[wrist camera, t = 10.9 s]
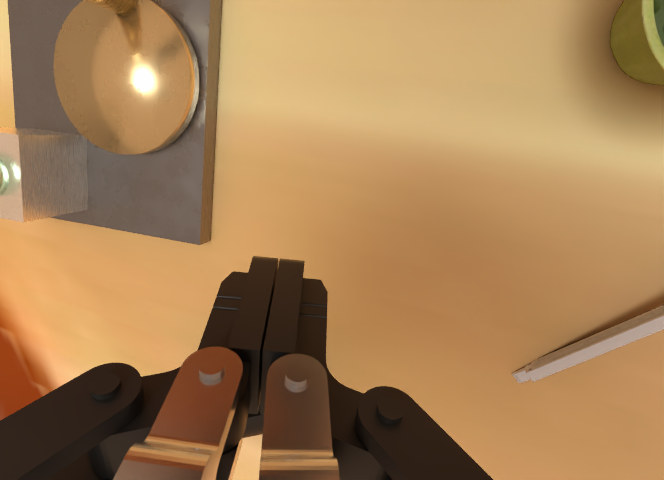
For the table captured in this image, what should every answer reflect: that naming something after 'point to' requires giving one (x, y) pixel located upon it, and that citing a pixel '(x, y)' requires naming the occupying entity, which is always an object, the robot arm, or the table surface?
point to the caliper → (593, 345)
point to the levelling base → (96, 163)
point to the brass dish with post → (126, 75)
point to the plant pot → (640, 40)
